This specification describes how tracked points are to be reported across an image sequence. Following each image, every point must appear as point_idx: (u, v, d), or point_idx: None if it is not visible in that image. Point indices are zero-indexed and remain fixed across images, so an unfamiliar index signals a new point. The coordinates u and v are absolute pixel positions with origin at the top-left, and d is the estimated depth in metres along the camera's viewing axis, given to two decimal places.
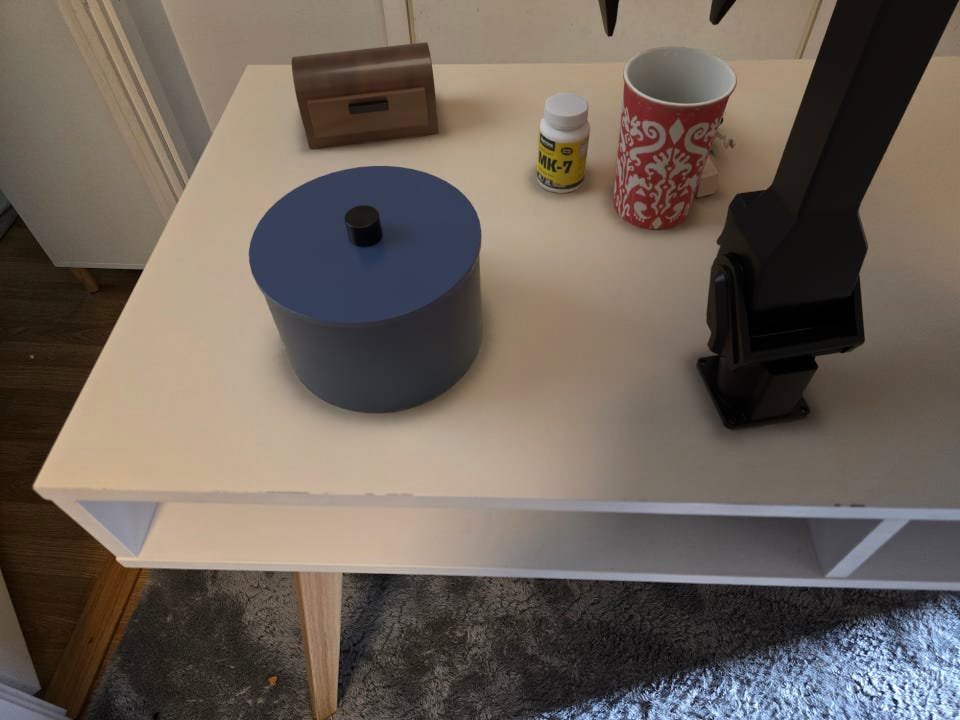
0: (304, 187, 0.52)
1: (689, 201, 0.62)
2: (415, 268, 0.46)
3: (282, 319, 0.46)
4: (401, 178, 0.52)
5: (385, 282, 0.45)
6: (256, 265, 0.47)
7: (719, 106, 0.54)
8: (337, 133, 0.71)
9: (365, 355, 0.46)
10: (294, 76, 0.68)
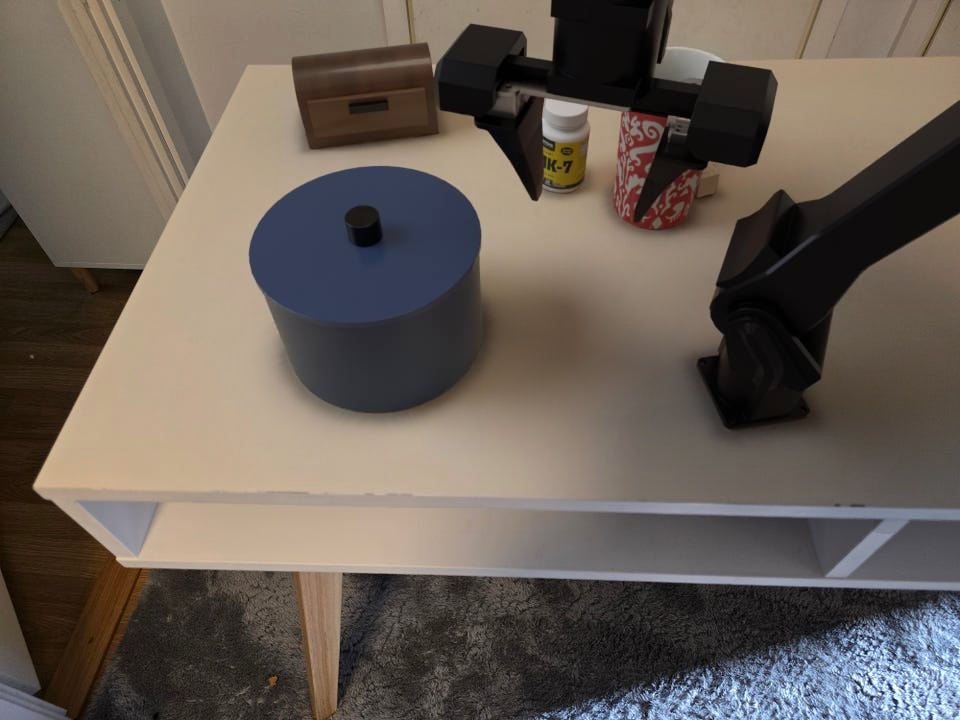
0: (304, 187, 0.52)
1: (689, 201, 0.62)
2: (415, 268, 0.46)
3: (282, 319, 0.46)
4: (401, 178, 0.52)
5: (385, 282, 0.45)
6: (256, 265, 0.47)
7: None
8: (337, 133, 0.71)
9: (365, 355, 0.46)
10: (294, 76, 0.68)
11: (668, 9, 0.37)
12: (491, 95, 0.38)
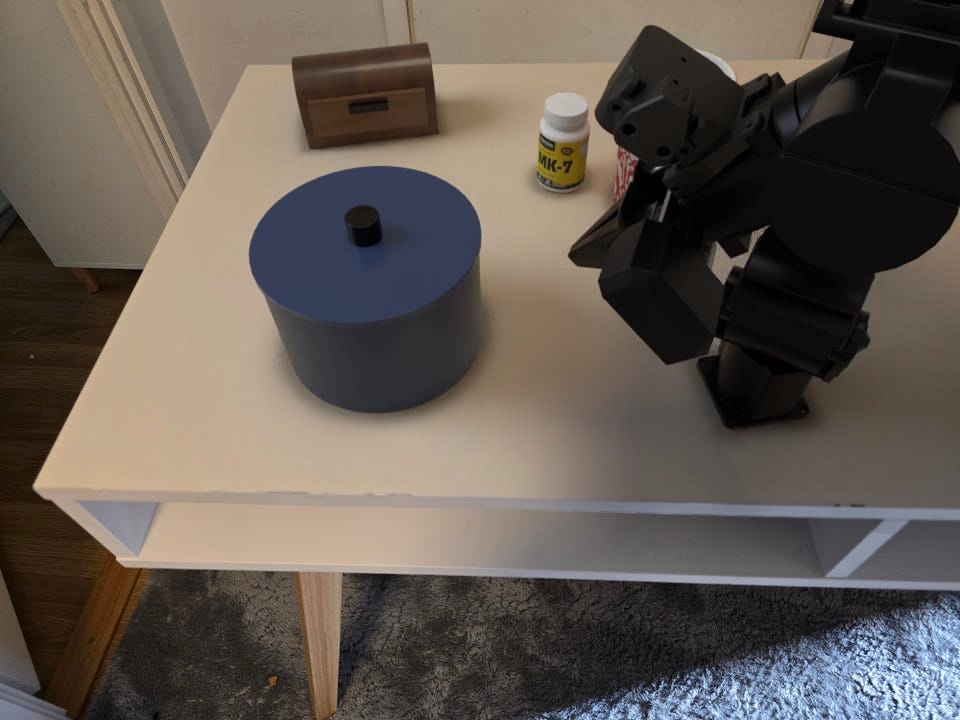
0: (304, 187, 0.52)
1: None
2: (415, 268, 0.46)
3: (282, 319, 0.46)
4: (401, 178, 0.52)
5: (385, 282, 0.45)
6: (256, 265, 0.47)
7: None
8: (337, 133, 0.71)
9: (365, 355, 0.46)
10: (294, 76, 0.68)
11: None
12: None
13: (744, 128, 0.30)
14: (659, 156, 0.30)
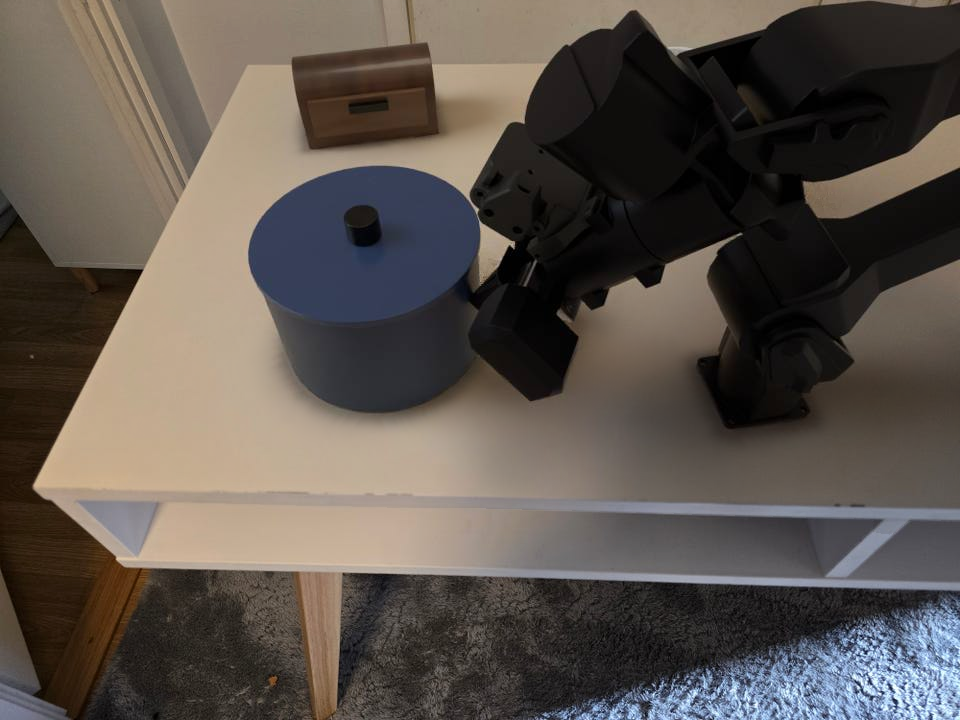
0: (303, 187, 0.52)
1: None
2: (414, 268, 0.46)
3: (281, 319, 0.46)
4: (400, 178, 0.52)
5: (384, 282, 0.45)
6: (255, 265, 0.47)
7: None
8: (337, 133, 0.71)
9: (364, 355, 0.46)
10: (294, 76, 0.68)
11: None
12: None
13: (584, 211, 0.37)
14: (515, 233, 0.37)
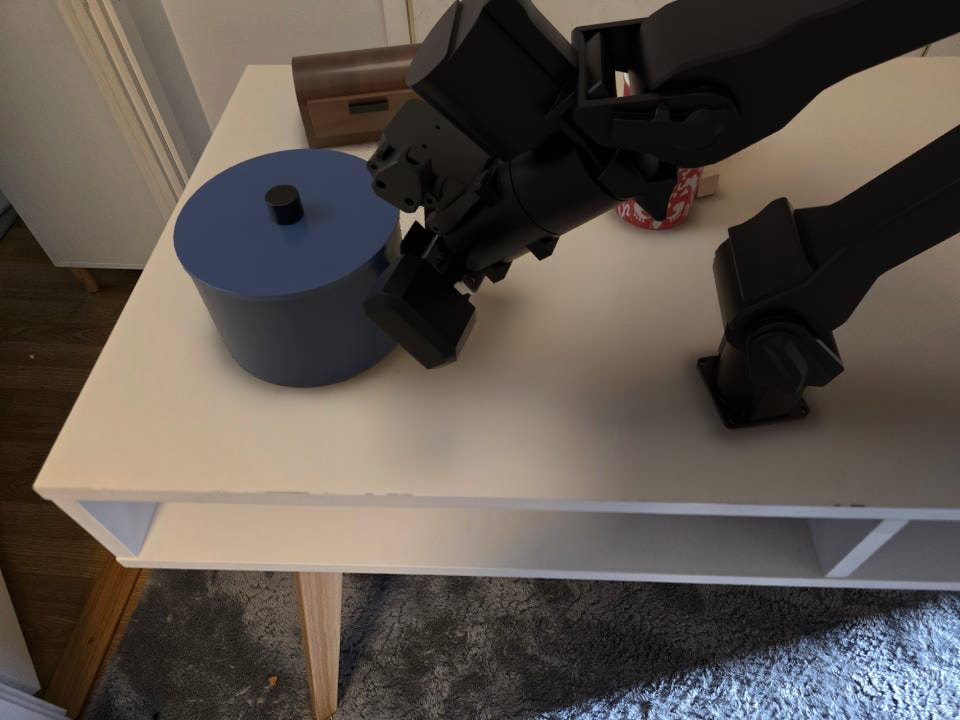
0: (236, 167, 0.54)
1: (689, 201, 0.62)
2: (330, 246, 0.48)
3: (202, 292, 0.48)
4: (330, 160, 0.54)
5: (299, 258, 0.47)
6: (179, 240, 0.48)
7: None
8: (337, 133, 0.71)
9: (279, 329, 0.48)
10: (294, 76, 0.68)
11: None
12: None
13: (474, 184, 0.38)
14: (408, 205, 0.38)
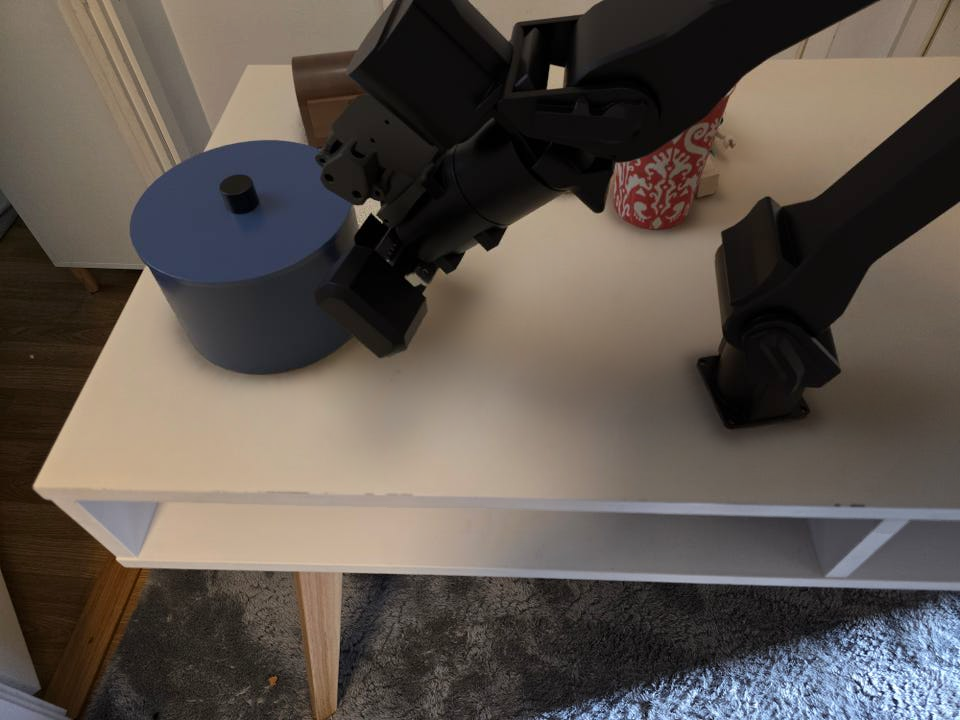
0: (195, 158, 0.54)
1: (689, 201, 0.62)
2: (282, 234, 0.48)
3: (157, 280, 0.49)
4: (288, 151, 0.55)
5: (251, 246, 0.48)
6: (135, 228, 0.49)
7: (719, 106, 0.54)
8: None
9: (233, 316, 0.49)
10: (294, 76, 0.68)
11: None
12: None
13: (420, 176, 0.39)
14: (355, 197, 0.39)
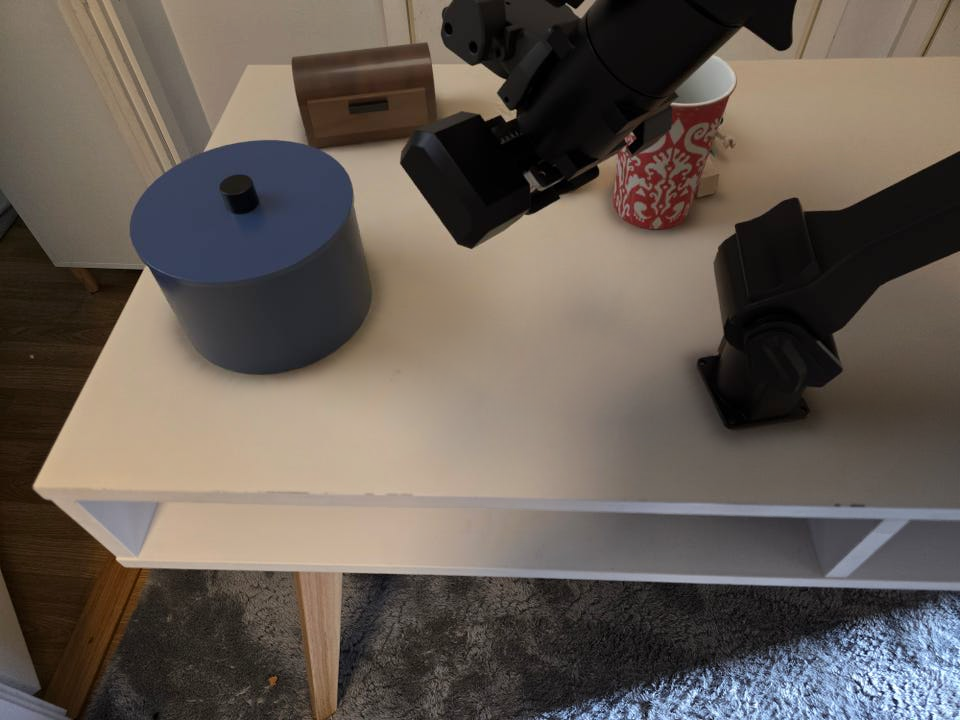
0: (195, 158, 0.54)
1: (689, 201, 0.62)
2: (282, 234, 0.48)
3: (157, 280, 0.49)
4: (288, 151, 0.55)
5: (251, 246, 0.48)
6: (135, 228, 0.49)
7: (719, 106, 0.54)
8: (337, 133, 0.71)
9: (233, 316, 0.49)
10: (294, 76, 0.68)
11: None
12: (527, 211, 0.35)
13: None
14: (472, 52, 0.34)
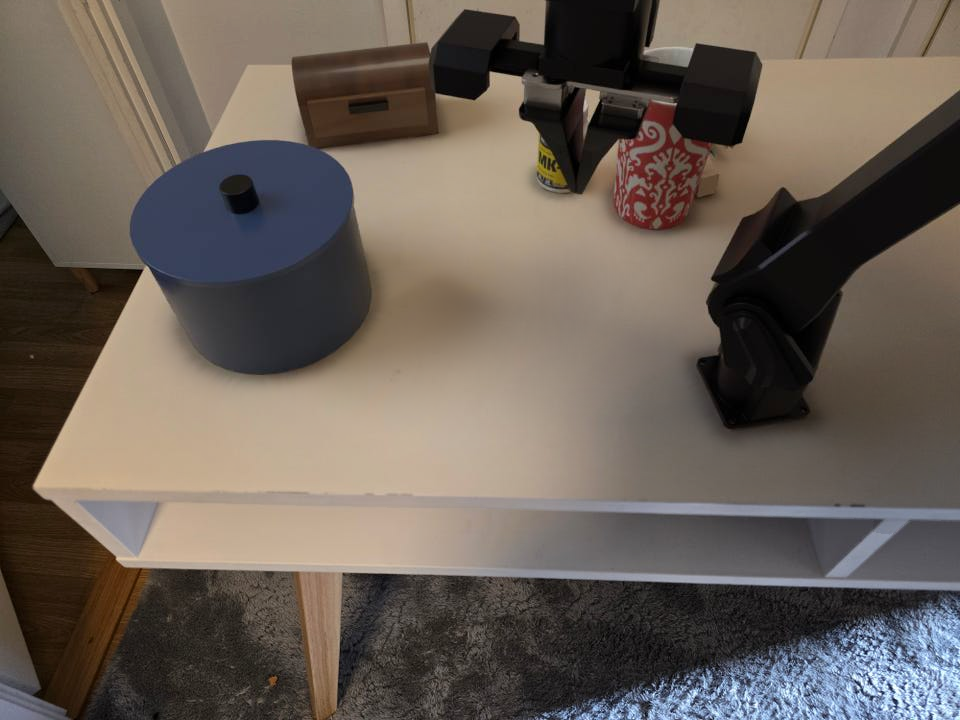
0: (195, 158, 0.54)
1: (689, 201, 0.62)
2: (282, 234, 0.48)
3: (157, 280, 0.49)
4: (288, 151, 0.55)
5: (251, 246, 0.48)
6: (135, 228, 0.49)
7: None
8: (337, 133, 0.71)
9: (233, 316, 0.49)
10: (294, 76, 0.68)
11: None
12: (485, 78, 0.39)
13: None
14: None
